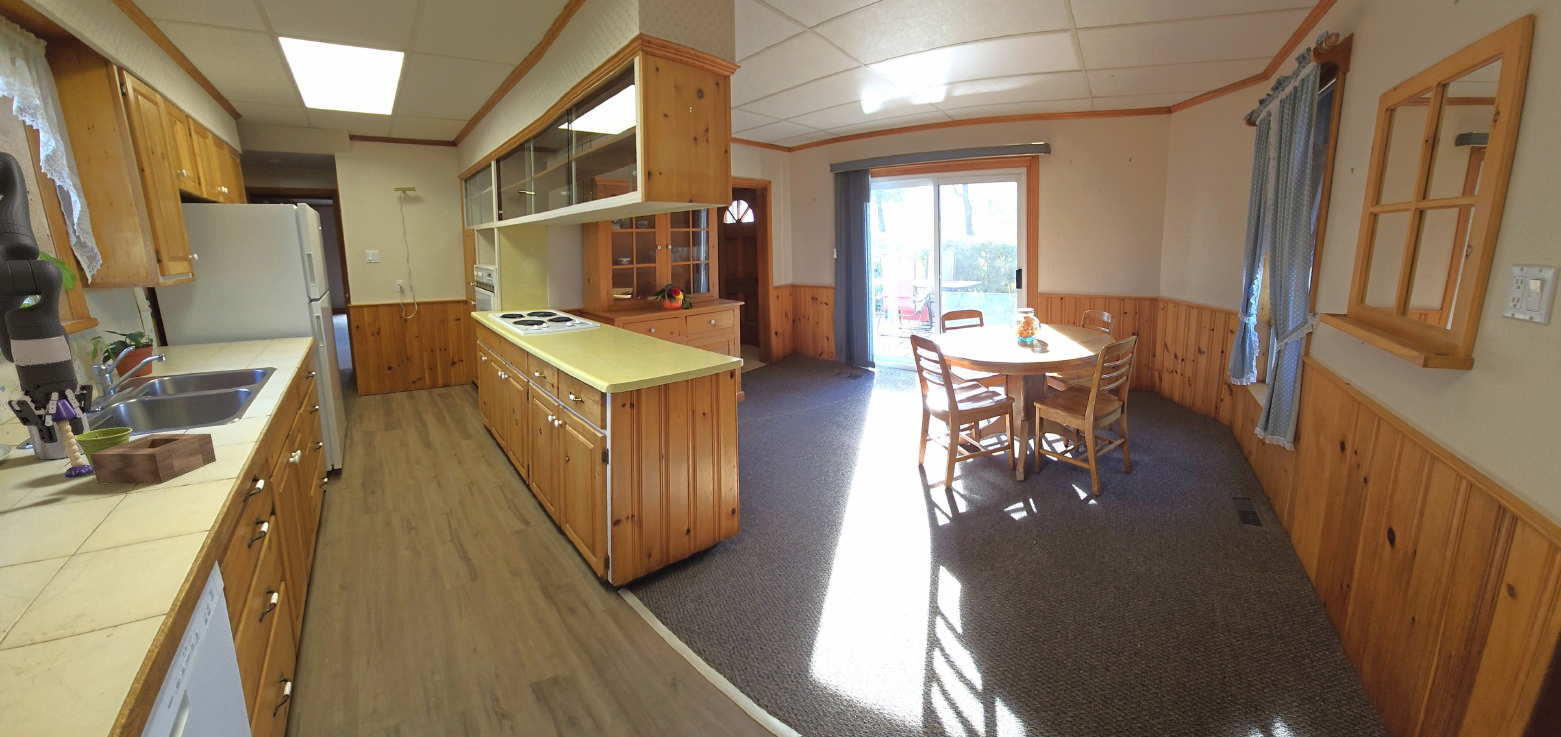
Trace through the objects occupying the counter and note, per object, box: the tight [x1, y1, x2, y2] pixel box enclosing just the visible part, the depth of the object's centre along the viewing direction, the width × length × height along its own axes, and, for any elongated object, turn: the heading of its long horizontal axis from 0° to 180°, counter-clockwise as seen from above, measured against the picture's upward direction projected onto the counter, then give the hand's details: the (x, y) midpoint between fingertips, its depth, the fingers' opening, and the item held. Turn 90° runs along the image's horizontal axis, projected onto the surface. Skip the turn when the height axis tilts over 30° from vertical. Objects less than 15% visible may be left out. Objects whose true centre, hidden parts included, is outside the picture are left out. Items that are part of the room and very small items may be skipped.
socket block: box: [91, 433, 217, 484], centre depth 144 cm, size 14×14×7 cm
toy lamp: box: [43, 399, 95, 479], centre depth 129 cm, size 5×5×17 cm
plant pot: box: [74, 427, 133, 468], centre depth 146 cm, size 9×9×9 cm
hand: (63, 438), depth 129 cm, fingers closed on toy lamp, 4 cm apart
